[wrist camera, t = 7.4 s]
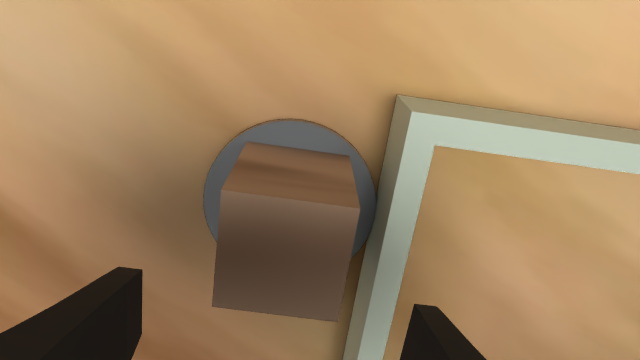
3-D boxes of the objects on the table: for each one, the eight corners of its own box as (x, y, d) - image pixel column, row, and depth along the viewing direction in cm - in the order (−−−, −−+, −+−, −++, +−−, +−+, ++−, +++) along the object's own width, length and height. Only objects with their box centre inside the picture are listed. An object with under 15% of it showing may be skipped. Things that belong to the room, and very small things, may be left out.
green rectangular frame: (667, 413, 23) (714, 469, 21) (339, 376, 23) (342, 429, 20) (809, 155, 19) (897, 182, 16) (397, 94, 18) (411, 111, 15)
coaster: (358, 281, 21) (359, 289, 20) (202, 262, 20) (199, 269, 20) (389, 131, 18) (391, 136, 18) (212, 106, 18) (208, 110, 17)
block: (333, 245, 19) (337, 321, 15) (238, 232, 19) (211, 306, 14) (349, 155, 18) (360, 208, 13) (246, 141, 18) (221, 189, 13)
